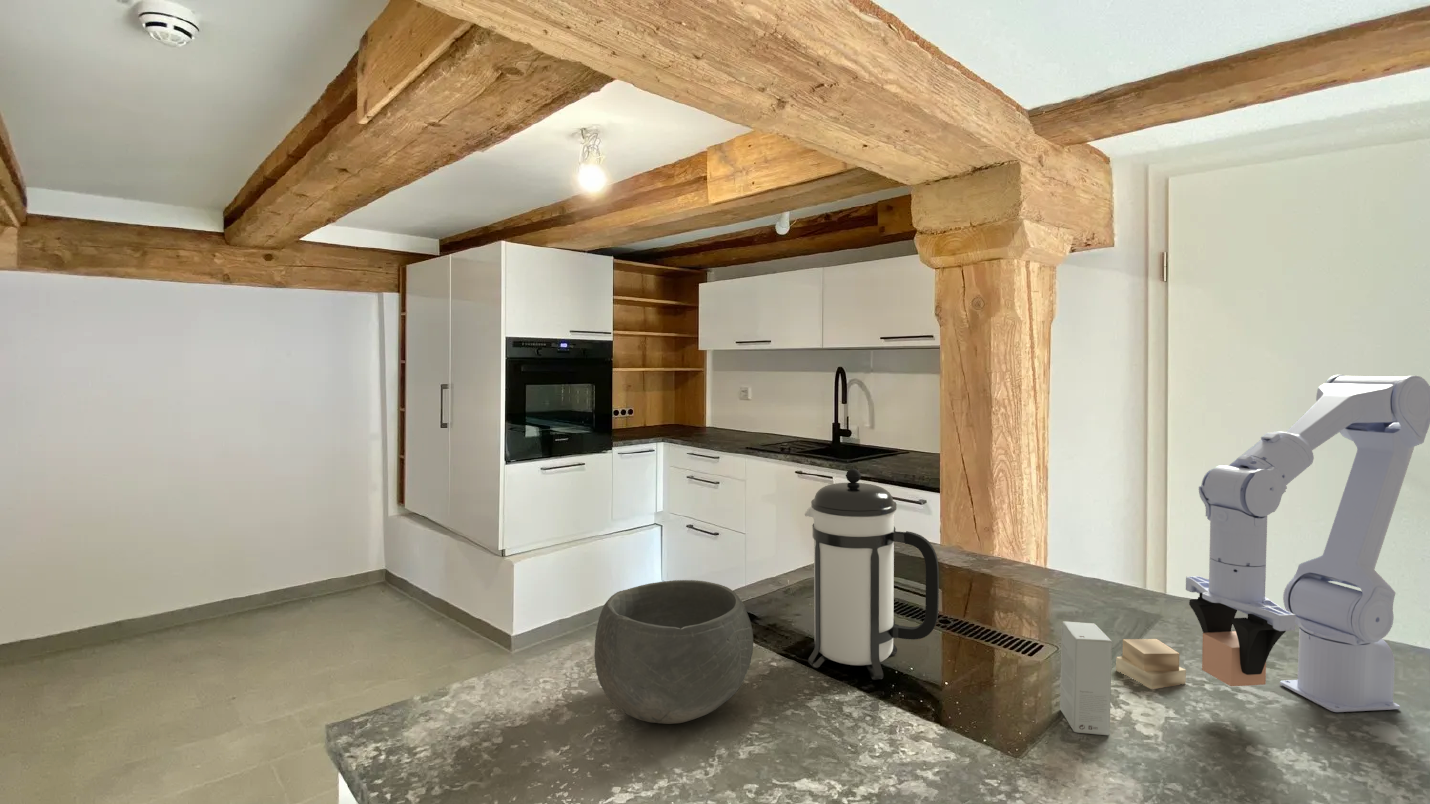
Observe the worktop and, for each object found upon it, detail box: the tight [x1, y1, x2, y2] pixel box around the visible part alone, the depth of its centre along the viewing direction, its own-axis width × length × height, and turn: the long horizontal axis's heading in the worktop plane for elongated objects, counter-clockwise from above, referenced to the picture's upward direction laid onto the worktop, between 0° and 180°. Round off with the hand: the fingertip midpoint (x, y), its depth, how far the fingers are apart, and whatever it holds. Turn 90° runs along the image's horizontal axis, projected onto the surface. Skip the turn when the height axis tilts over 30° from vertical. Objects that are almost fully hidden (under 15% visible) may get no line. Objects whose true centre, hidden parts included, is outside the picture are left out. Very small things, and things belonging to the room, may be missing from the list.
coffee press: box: [804, 468, 940, 681], centre depth 103 cm, size 17×16×30 cm
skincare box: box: [1059, 620, 1113, 736], centre depth 85 cm, size 6×4×12 cm
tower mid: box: [1122, 638, 1180, 671], centre depth 97 cm, size 5×5×2 cm
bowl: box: [594, 579, 754, 725], centre depth 90 cm, size 21×21×15 cm
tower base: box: [1115, 655, 1187, 690], centre depth 97 cm, size 6×6×2 cm
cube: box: [1201, 630, 1267, 687], centre depth 86 cm, size 5×5×5 cm
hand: (1234, 664), depth 87 cm, fingers closed on cube, 5 cm apart
